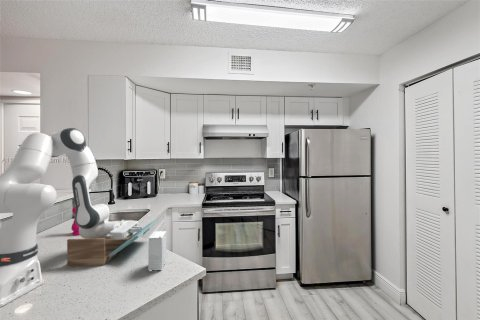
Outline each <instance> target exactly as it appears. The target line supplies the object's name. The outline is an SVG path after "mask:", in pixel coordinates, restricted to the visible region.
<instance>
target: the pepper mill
mask: <svg viewBox="0 0 480 320" xmlns="http://www.w3.org/2000/svg"><path fill="white" fill-rule="evenodd" d="M75 212H76V208H75V206H74V207H72V213H73V219H74V220H73V223H72V225H71V231H72V232H71V233H72V236H73V237H74V236H77V237H78V236H80V234H79V226H78V225H77V224H76V222H75Z"/></svg>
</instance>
